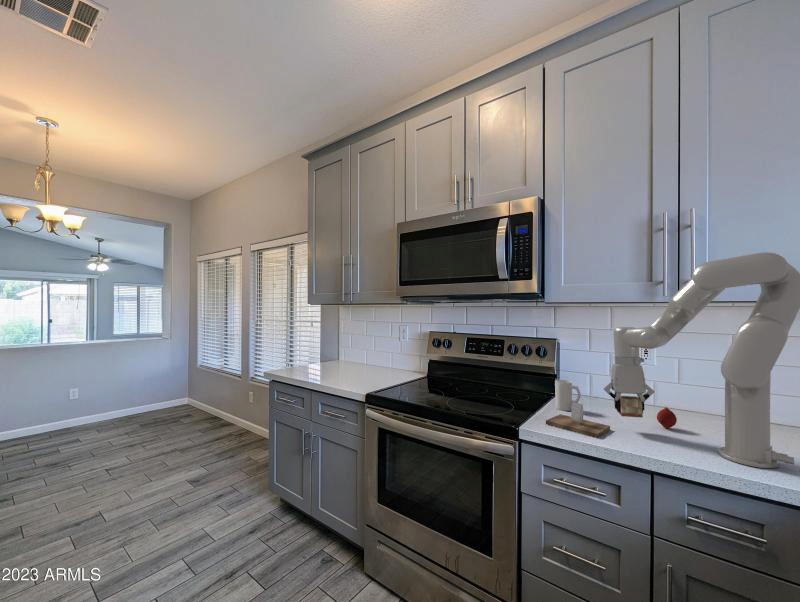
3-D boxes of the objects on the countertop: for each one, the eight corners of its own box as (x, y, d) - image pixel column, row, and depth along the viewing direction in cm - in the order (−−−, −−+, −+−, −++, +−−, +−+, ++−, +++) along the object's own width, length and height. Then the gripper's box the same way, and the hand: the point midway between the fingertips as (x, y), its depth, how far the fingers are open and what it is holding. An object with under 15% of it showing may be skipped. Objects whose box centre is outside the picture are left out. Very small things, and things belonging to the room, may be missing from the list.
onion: (677, 428, 129) (677, 406, 129) (675, 432, 125) (675, 410, 125) (658, 424, 133) (658, 403, 133) (655, 428, 129) (655, 406, 129)
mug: (553, 409, 152) (553, 381, 152) (557, 405, 157) (557, 379, 158) (578, 413, 146) (578, 384, 146) (582, 409, 151) (582, 382, 151)
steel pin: (583, 423, 129) (583, 404, 129) (579, 425, 127) (579, 405, 127) (574, 421, 132) (574, 402, 132) (571, 422, 130) (571, 404, 130)
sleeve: (636, 412, 128) (636, 396, 128) (642, 417, 122) (641, 400, 122) (617, 411, 130) (616, 395, 130) (622, 416, 124) (621, 399, 124)
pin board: (610, 430, 127) (610, 425, 127) (597, 438, 119) (597, 433, 119) (560, 417, 140) (560, 414, 140) (545, 424, 132) (545, 420, 132)
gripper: (651, 360, 127) (654, 410, 127) (597, 359, 133) (600, 407, 132) (659, 363, 120) (662, 416, 119) (602, 362, 126) (604, 412, 125)
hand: (629, 411), depth 126 cm, fingers closed on sleeve, 6 cm apart
